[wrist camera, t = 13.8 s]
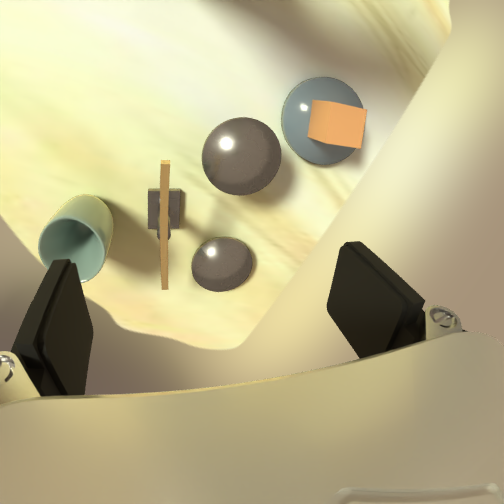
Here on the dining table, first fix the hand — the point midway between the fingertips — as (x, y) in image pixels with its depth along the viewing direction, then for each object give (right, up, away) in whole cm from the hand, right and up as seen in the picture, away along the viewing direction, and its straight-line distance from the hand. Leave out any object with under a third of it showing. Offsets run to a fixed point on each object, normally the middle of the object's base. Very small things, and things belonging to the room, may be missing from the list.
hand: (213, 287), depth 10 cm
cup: (-20, +6, +26) cm, 33 cm away
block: (+11, +18, +27) cm, 34 cm away
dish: (+11, +19, +28) cm, 35 cm away
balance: (-5, +7, +30) cm, 31 cm away
